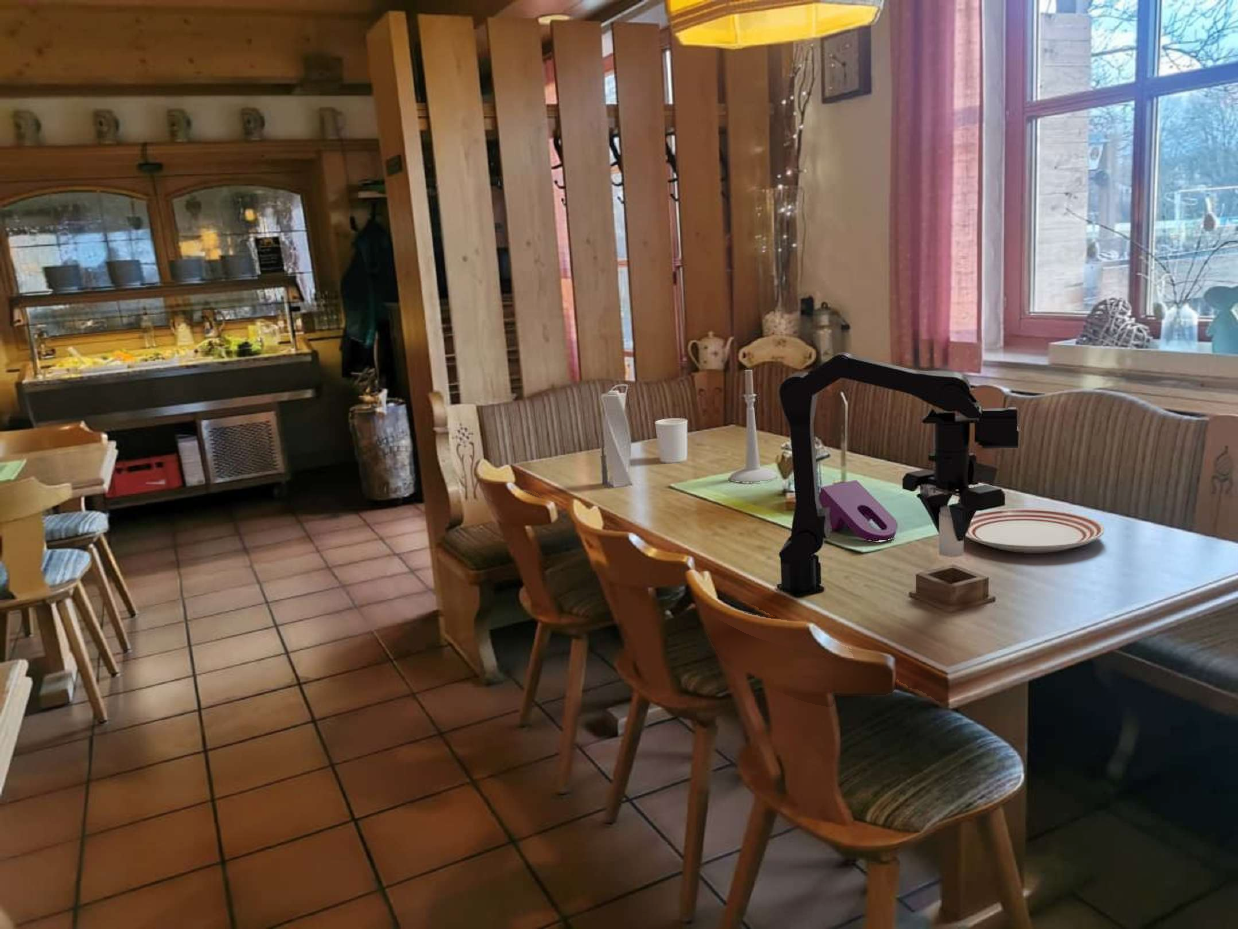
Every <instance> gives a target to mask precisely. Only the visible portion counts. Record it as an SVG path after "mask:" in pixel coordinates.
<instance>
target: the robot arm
mask: <svg viewBox="0 0 1238 929" xmlns="http://www.w3.org/2000/svg"><path fill="white" fill-rule="evenodd" d="M840 379H848V380H851V381H854V382H858V383H864V384H867V385H870V386H871V385H872V386H874V387H875V386H876V387H880V388H884V389H888V390H892V391H897V392H899V393H905V394H908V395H911V396H914V397H915V398H917V399H919V400H921V401H923V402H925V403H926V404H928V405H930V406H932V407H931V408H930V409H929V411H928V412H927V413H925V415H923V417H922V419H921V423H922V424H923V425H924V424H927V425H928V424H933V453H930V454H928V461H930V462H932V463H933V470H931V469H927V468H926V469H920V470H914V471H910V472H906V473H905V474H904V476H903V477H902V478H901V479H902V480H901V481H902V482H901V483H902V490H905V491H908V492H911V493H912V492H916V491H917V489H918V488H919V493H917V494H916V498H917V499H919V500H920V502H921V503H922V505H923V507H924V508H925V510H926V512H927V513H928V515H929V517H930V520H931V521H932V524H933V525H934V527H935V530H936V531H937V533H938V534H939V513H940V508H941V507H942V506H949V508H950V512H951V517H952V522H953V527H954V531H955V535H956V538H957V541H963V540H965V538H966V536H965V535H966V533H967V530H968V528H969V525H970V523H971V520H972V518H973V516H974V514H976V513H977V511H978V512H983V511H985V510H986V511H988V510H991V509H996V508H1000V507H1004V506H1006V493H1005V491H1004V490H1003V489H1002V488H1000V487H996V486H994V485H995V482H996V480H997V475H998V472H999V468H998V467H995V466H991V465H987V464H983V463H979V462H978V457H977V456H976V453H972V452H971V424H974V443H975V444H977V445H978V446H981V449H982V450H1019V438H1020V437H1019V435H1020V432H1019V431H1020V429H1019V427H1018V426H1019V425H1018V409H1017V407H1015V406H1009V407H1003V408H983V405H981V403H980V401H978V400H977V399H976V397H975V396H974V395H973V394H972V392H971V389H972V388H971V383H970V381H969V379H968V378H967V377H966V375H964V374H963V373H961V372H957V371H947V370H946V371H945V370H916V369H911V368H907V367H904V366H898V365H894V364H890V363H886V362H882V361H877V360H874V359H869V358H865V357H861V356H856V355H853V354H851V353H848V352H846V351H845V352H843V351H841V352H837V353H836V354H835V355H833V356H831V358H829V359H828V360H826V361H824V362H822V363H821V364H819V365H817V366H816V367H813V368H812V369H811V370H809V371H807V372H806V371H796V372H795V373H792V374H791V375H790V376H788V377H787V378H786V379H785V380H784V381H783V382H782V383H781V385H780V387H779V393H778V395H779V400H780V403H781V408H782V412H783V414H784V417H785V419H786V422H787V425H788V426H789V431H790V432H789V434H790V435H789V436H790V444H791V445H790V447H791V460H792V461H791V462H792V469H793V470H792V471H793V483H794V484H793V485H794V497H795V500H794V501H795V506H794V512H793V517H792V521H791V522H792V524H791V532H790V536H789V537H788V538H787V540H786V541H785V543H784V545H783V546H782V547H781V549H780V550H779V552H778V556H779V559H780V578H781V580H780V583H777V584H776V587H777V589H779V590H781V591H783V592H784V593H787V594H789V595H791V596H792V597H794V598H798V597H802V596H803V597H804V596H806V595H810V594H814V593H815V594H816V593H819V592H824V591H825V586H823V585H822V564H821V562H820V561H819V560H820V558H819V555H817V553H818V552H819V551H820V550H821V549H822V548H823V545H824V543H825V542H826V539H828V536H829V534H830V533H831V531H830V530H831V528H832V526H831V524H830V521H829V515H830V507H827V508H822V506H821V503H820V501H819V487H818V485H819V484H818V473H817V472H818V471H817V457H816V443H815V442H816V441H815V431H814V430H815V429H814V428H815V427H814V421H815V416H816V409H817V404H818V394H819V392H821V391H823V390H824V389H826V388H827V387H829V386H831V385H832V384H833V383H835V382H837V381H838V380H840ZM933 406H934V407H933ZM935 407H936V408H938V409H940V410H942V411H938V410H937V409H936V408H935ZM957 413H958V414H960V415H962V416H959V415H956V414H957ZM979 483H985V484H984V485H980V484H979ZM987 484H988V485H987ZM976 485H977V486H976ZM970 486H973V487H970ZM953 496H955V497H958V499H957V500H958V501H957V503H952V504H951V503H950V504H949V502H950V500H951V499H952V497H953Z"/></svg>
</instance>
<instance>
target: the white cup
mask: <svg viewBox="0 0 1238 929" xmlns="http://www.w3.org/2000/svg"><path fill="white" fill-rule="evenodd" d="M654 424H655V425H654V427H655V432H656V433H655V434H656V442H657V449H658V456H659V460H660V462H661V463H664V462H665V464H666V463H667V464H675V463H676V464H677V462H678V463H682V462H685V461H687V460H688V419H686V418H682V417H680V418H679V417H677V418H676V417H675V418H662V419H658V420H656V421H655V422H654Z"/></svg>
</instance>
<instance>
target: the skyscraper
mask: <svg viewBox="0 0 1238 929" xmlns="http://www.w3.org/2000/svg"><path fill="white" fill-rule="evenodd" d="M622 386H623V387H626V388H625V392H620V391H619V390H614V389H615V388H618V387H622ZM628 389H629V385H628V384H627V383H619V384H616V385H614V386H612V387H611V389H610V390H609V391H607V392H606V393H602V394H601V395H600V399H601V402H602V406H603V410H604V418H603V440H602V439H601V446H600V447H601V448H600V449H601V455H600V461H601V478H602V479H601V480H602V481H601V485H603V486H604V485H605V487H606V488H607V489H610V488H611V489H616V488H622V487H629V486H628V485H630V486H634V483H633V480H632V479H631V476H630V474H629V473H630V466H631V464H630V463H631V457H632V456H631V455H632V441H631V432H630V431H631V430H630V426H629V420H628V418H627V415H626V412H625V410H626V402H627V393H628ZM607 467H608V468H607ZM608 471H609V475H610V477H608Z"/></svg>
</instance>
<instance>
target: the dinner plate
mask: <svg viewBox="0 0 1238 929" xmlns="http://www.w3.org/2000/svg"><path fill="white" fill-rule="evenodd" d="M1104 533H1105V526H1104V525H1103V524H1102V523H1101V522H1099V521H1098V520H1095V519H1093V518H1091V517H1087V516H1085V515H1082V514H1077V513H1074V512H1073V513H1072V512H1067V511H1062V510H1055V509H1040V508H1038V509H1037V508H1006V509H1005V508H1004V509H995V510H994V509H992V510H986V511H979V512H976V513H975V514H974V516H973V518H972V520H971V523H970V525H969V528H968V530H967V533H966V535H965V538H966V537H967V539H968V538H969V539H970V540H971V541H974V542H977V543H979V544H982V545H985V546H988V547H991V548H994V549H997V548H998V549H997V550H1002V551H1007V552H1013V551H1014V552H1013V553H1021V552H1023V554H1024V553H1025V554H1045V553H1046V554H1049V553H1055V552H1061V551H1065V550H1070V549H1073V548H1077V547H1078V548H1079V547H1081V546H1084V545H1087V544H1089V543H1092V542H1093V541H1096V540H1097V539H1099V538H1100V537H1102V535H1104Z"/></svg>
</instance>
